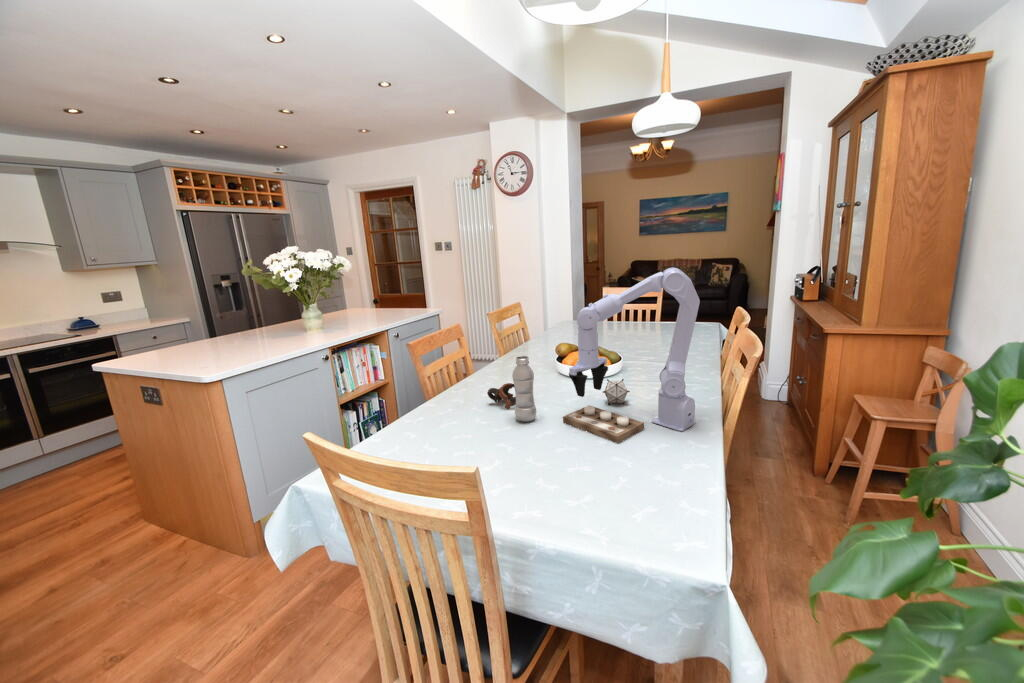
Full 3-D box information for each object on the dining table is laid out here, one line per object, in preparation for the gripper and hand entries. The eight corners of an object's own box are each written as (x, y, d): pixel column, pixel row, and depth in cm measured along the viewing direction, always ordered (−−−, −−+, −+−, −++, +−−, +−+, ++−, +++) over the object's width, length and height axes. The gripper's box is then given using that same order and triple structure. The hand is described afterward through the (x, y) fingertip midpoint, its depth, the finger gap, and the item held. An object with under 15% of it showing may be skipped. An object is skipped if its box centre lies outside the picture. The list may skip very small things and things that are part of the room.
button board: (644, 429, 123) (644, 421, 123) (618, 443, 116) (618, 435, 115) (589, 411, 138) (589, 404, 138) (563, 422, 131) (562, 415, 131)
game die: (619, 416, 143) (621, 399, 135) (596, 403, 147) (597, 386, 139) (633, 396, 147) (635, 379, 139) (610, 384, 151) (612, 367, 143)
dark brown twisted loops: (520, 398, 155) (524, 382, 150) (518, 419, 147) (523, 403, 142) (486, 392, 154) (490, 376, 149) (483, 413, 147) (487, 396, 141)
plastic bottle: (535, 424, 131) (531, 360, 127) (513, 424, 133) (509, 360, 128) (538, 416, 137) (535, 354, 133) (517, 415, 139) (513, 354, 134)
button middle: (613, 419, 128) (613, 413, 127) (606, 422, 126) (606, 416, 125) (604, 416, 130) (604, 410, 130) (597, 419, 128) (597, 413, 128)
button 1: (597, 414, 132) (597, 407, 132) (590, 417, 130) (590, 410, 130) (589, 411, 135) (588, 405, 134) (582, 414, 133) (582, 408, 132)
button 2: (630, 425, 123) (630, 418, 123) (624, 428, 121) (624, 422, 121) (621, 422, 125) (621, 415, 125) (614, 425, 123) (614, 418, 123)
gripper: (593, 341, 135) (594, 383, 138) (561, 351, 126) (562, 395, 129) (612, 345, 130) (612, 388, 133) (579, 355, 121) (580, 401, 124)
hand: (589, 392), depth 131 cm, fingers open, 7 cm apart
